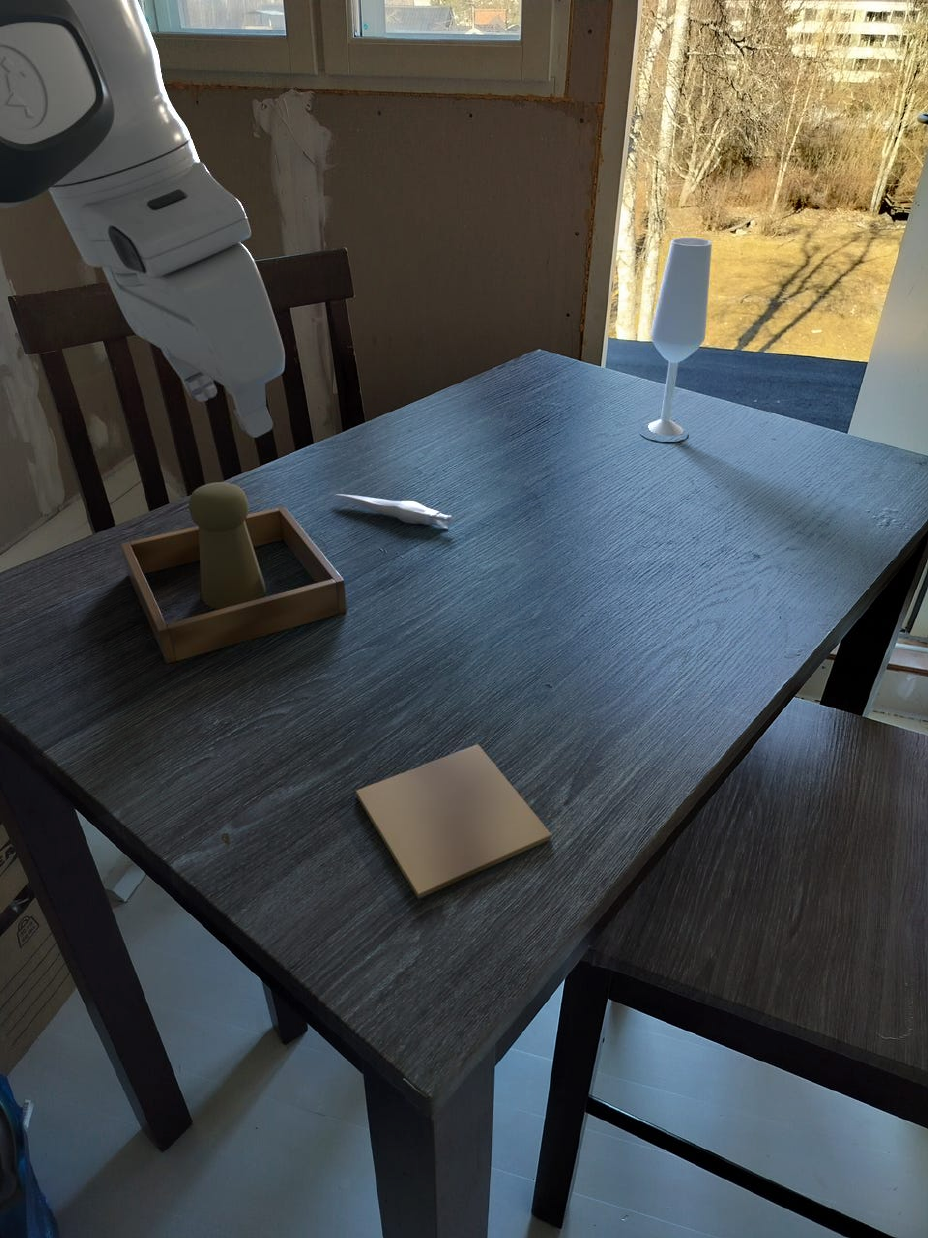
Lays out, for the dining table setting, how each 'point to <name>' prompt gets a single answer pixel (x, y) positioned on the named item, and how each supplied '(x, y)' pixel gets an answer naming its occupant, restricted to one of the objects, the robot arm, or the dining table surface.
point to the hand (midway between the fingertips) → (230, 413)
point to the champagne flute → (680, 315)
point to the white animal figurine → (400, 510)
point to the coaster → (451, 819)
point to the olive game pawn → (225, 546)
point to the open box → (241, 618)
